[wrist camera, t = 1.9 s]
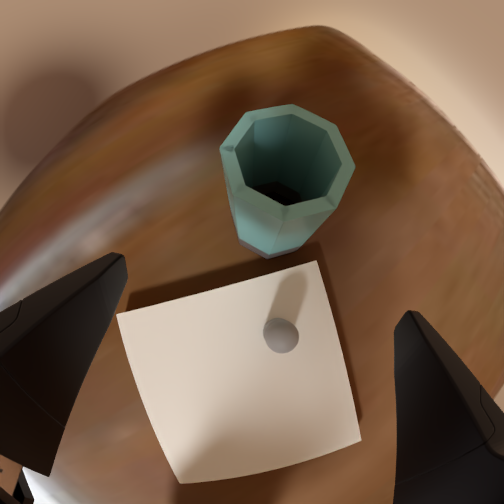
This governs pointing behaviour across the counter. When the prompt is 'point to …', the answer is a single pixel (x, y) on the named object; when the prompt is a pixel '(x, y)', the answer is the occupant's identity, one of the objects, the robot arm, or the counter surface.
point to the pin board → (243, 376)
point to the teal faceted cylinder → (283, 176)
